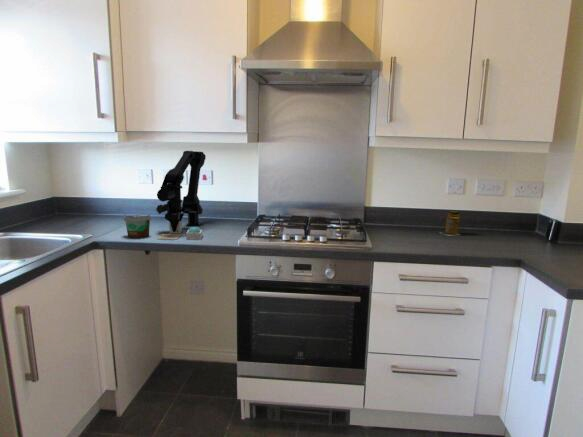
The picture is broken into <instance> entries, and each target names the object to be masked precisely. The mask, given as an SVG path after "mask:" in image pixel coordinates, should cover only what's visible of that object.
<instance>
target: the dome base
mask: <svg viewBox="0 0 583 437" xmlns="http://www.w3.org/2000/svg"><path fill="white" fill-rule="evenodd" d="M185 234H186V236H185V238H186V240H201V239H202V238H203V229H199V233H189V229H187V231H186V233H185Z"/></svg>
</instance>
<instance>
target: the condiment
mask: <svg viewBox="0 0 583 437" xmlns="http://www.w3.org/2000/svg"><path fill="white" fill-rule="evenodd" d="M445 222H446V224H445V230H444V231H439V232H438V233H439V234H441V235H445V236H448V237H449V236H450V237H453V236H461V235H462V234H461V233H459V225H460V212H459V211H458V210H448V213H447V216H446V220H445Z"/></svg>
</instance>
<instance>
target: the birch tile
mask: <svg viewBox="0 0 583 437" xmlns="http://www.w3.org/2000/svg"><path fill="white" fill-rule="evenodd" d="M181 236H182V233H162V234H160V236H159V237H158V238H157V240H179V239H180V237H181Z"/></svg>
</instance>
